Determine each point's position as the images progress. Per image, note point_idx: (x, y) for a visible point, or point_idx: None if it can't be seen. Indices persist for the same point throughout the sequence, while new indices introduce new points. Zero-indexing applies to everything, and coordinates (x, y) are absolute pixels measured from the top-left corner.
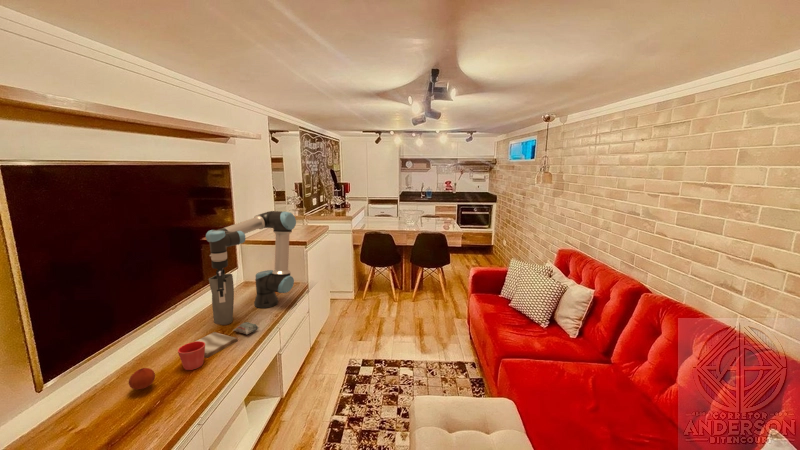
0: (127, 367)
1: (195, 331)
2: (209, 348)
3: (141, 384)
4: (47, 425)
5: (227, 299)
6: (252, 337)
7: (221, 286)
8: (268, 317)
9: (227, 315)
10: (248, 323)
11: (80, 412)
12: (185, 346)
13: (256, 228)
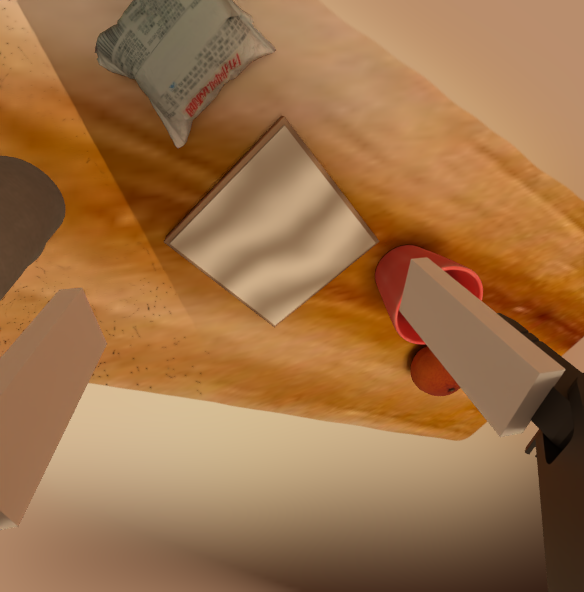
0: (310, 409)
1: (106, 317)
2: (338, 240)
3: None
4: (447, 431)
5: None
6: (272, 16)
7: None
8: None
9: (28, 196)
10: (170, 24)
11: (443, 411)
12: (400, 328)
13: None
